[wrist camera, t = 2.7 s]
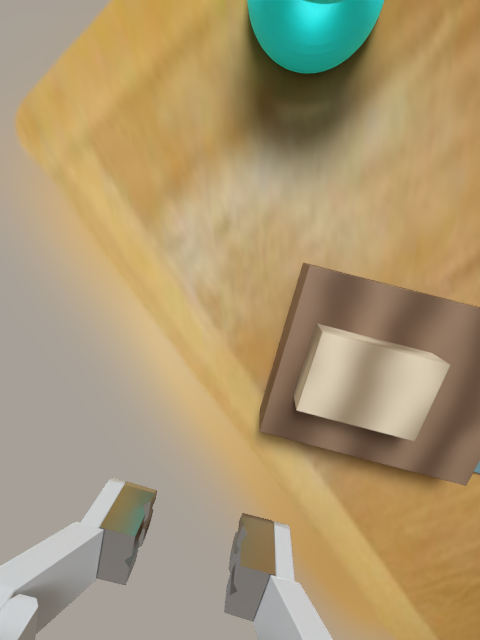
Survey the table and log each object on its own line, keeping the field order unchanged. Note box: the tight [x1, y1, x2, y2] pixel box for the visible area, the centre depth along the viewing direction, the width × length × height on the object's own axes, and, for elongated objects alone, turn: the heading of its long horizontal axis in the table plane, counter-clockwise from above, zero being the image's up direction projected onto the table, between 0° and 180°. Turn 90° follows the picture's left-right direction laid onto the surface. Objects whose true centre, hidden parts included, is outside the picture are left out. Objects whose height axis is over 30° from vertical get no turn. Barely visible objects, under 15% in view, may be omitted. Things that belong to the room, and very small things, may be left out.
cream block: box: [294, 324, 450, 441], centre depth 25 cm, size 10×7×2 cm
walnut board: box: [260, 263, 480, 486], centre depth 28 cm, size 20×16×4 cm
